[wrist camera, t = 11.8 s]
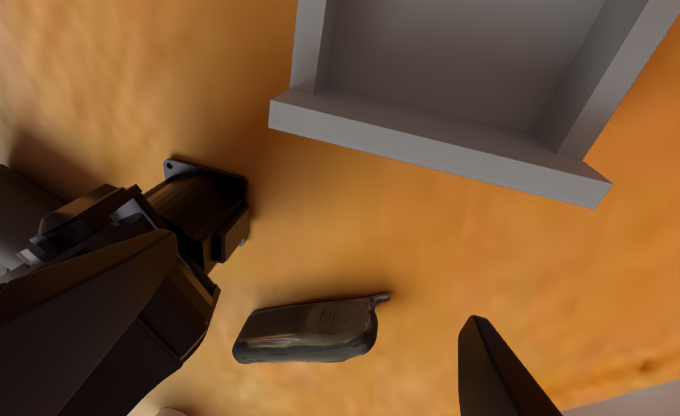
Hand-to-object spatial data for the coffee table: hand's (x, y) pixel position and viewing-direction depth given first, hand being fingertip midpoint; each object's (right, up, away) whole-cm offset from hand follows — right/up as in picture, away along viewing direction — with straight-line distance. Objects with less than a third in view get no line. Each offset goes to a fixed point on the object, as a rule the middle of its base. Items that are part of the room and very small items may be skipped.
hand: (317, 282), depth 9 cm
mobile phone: (-2, -7, +21) cm, 22 cm away
